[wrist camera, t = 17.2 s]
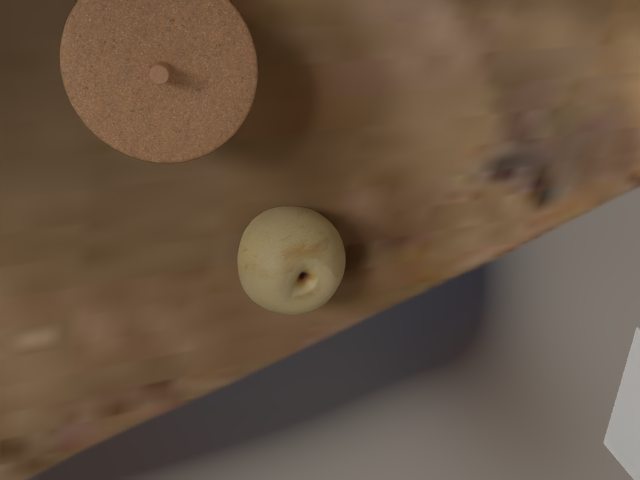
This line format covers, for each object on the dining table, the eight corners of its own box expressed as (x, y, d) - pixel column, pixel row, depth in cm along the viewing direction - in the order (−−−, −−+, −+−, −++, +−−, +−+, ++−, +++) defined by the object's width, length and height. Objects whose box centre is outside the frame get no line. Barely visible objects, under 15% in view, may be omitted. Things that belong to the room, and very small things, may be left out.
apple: (219, 203, 45) (274, 207, 39) (307, 205, 50) (369, 209, 44) (216, 308, 46) (270, 328, 39) (304, 300, 50) (365, 317, 44)
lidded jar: (276, 17, 41) (294, 27, 32) (212, 157, 44) (212, 201, 35) (120, -67, 38) (94, -80, 29) (62, 92, 41) (23, 122, 32)
